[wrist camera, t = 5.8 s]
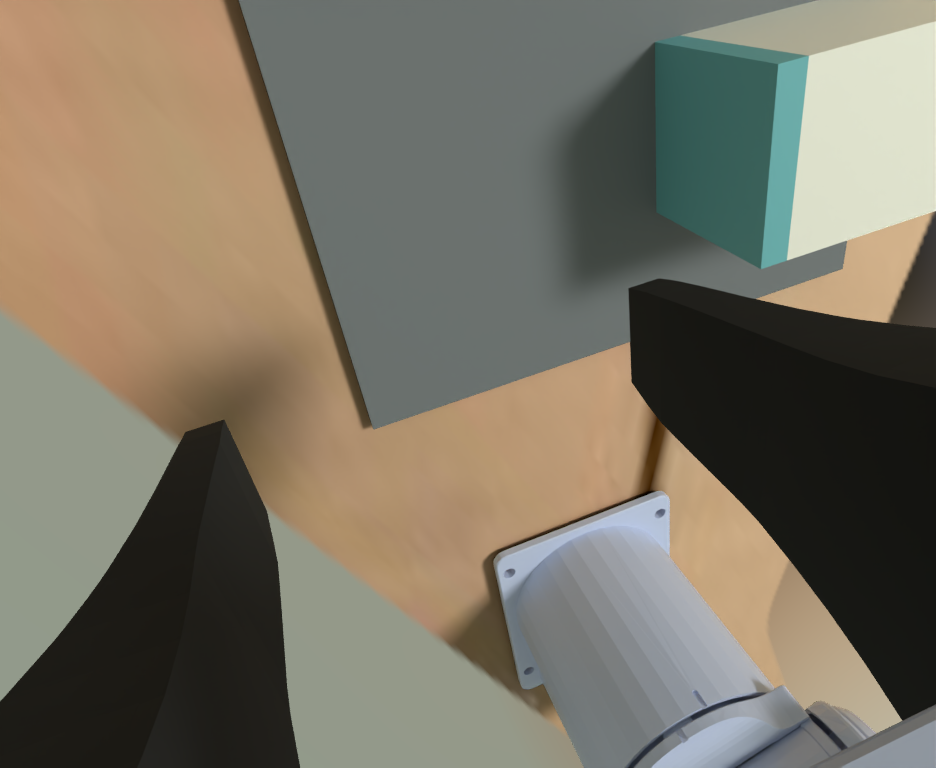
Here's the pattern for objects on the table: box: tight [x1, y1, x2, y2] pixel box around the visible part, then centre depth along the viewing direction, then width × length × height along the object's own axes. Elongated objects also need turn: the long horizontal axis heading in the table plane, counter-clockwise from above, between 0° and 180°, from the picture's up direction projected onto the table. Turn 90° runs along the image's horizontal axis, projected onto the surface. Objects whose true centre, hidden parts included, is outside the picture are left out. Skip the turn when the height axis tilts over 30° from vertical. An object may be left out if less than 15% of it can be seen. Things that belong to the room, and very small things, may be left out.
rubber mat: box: [238, 0, 847, 429], centre depth 21 cm, size 13×18×1 cm
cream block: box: [655, 0, 936, 269], centre depth 19 cm, size 5×5×7 cm
